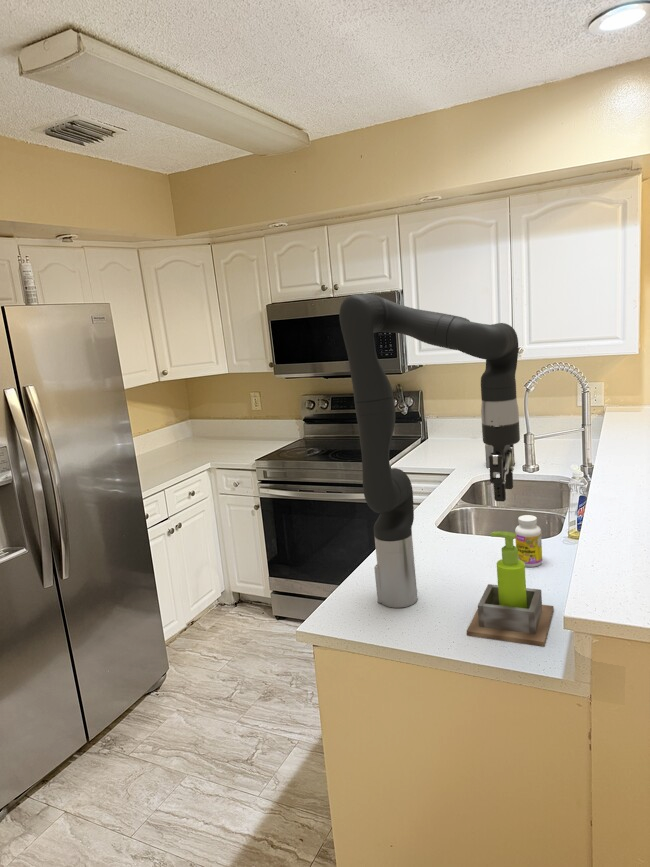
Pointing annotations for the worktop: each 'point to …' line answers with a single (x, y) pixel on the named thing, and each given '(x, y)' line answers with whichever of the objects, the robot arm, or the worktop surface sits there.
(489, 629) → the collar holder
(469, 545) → the worktop surface
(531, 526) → the supplement bottle
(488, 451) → the coffee mug
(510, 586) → the soap dispenser
